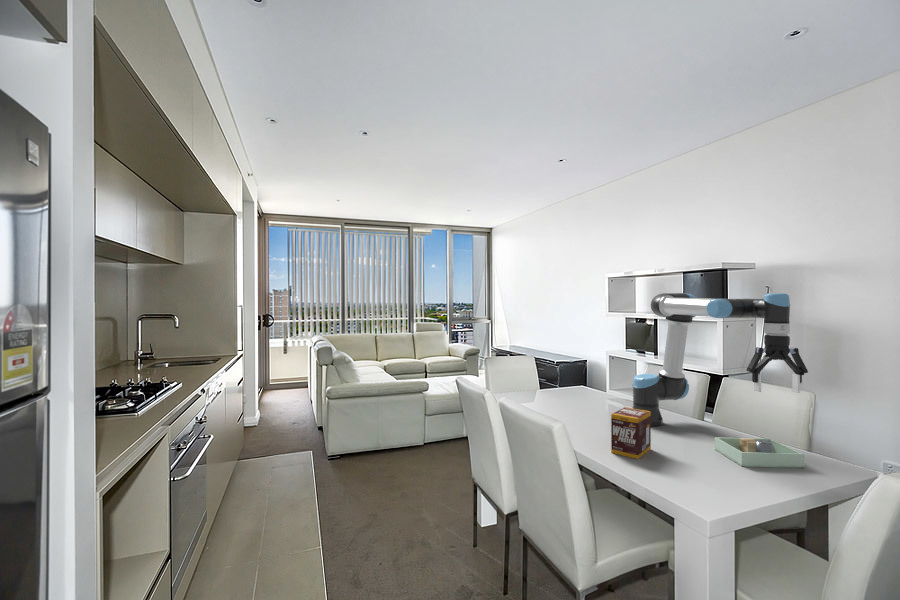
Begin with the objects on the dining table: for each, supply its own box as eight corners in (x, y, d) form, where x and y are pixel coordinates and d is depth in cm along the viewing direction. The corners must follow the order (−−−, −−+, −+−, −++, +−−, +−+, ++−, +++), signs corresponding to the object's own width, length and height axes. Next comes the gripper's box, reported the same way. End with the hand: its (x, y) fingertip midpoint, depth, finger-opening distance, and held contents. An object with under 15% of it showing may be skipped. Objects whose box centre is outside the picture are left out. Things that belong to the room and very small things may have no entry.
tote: (714, 449, 170) (714, 437, 170) (770, 451, 169) (770, 438, 169) (741, 466, 153) (741, 452, 153) (803, 468, 151) (803, 454, 151)
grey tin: (752, 458, 159) (752, 439, 159) (766, 458, 159) (766, 440, 159) (761, 463, 154) (761, 444, 154) (775, 463, 154) (775, 444, 154)
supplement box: (610, 453, 166) (610, 413, 167) (625, 443, 178) (625, 406, 178) (637, 459, 159) (637, 418, 159) (651, 449, 171) (651, 410, 171)
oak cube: (739, 451, 167) (739, 438, 167) (753, 451, 167) (753, 438, 167) (747, 455, 162) (747, 442, 162) (761, 455, 162) (761, 442, 162)
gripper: (748, 335, 154) (748, 393, 154) (820, 335, 152) (820, 394, 152) (735, 333, 161) (735, 389, 161) (804, 334, 159) (804, 390, 159)
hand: (776, 391), depth 156 cm, fingers open, 13 cm apart
